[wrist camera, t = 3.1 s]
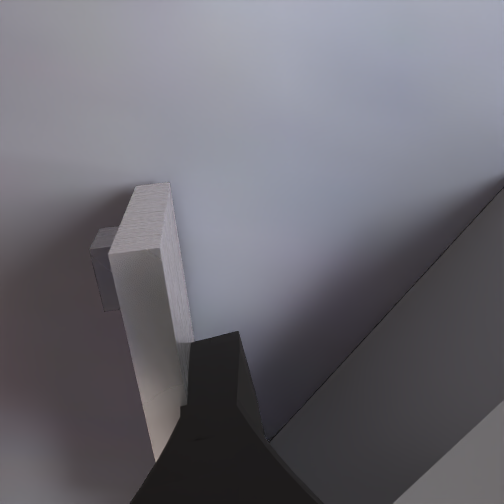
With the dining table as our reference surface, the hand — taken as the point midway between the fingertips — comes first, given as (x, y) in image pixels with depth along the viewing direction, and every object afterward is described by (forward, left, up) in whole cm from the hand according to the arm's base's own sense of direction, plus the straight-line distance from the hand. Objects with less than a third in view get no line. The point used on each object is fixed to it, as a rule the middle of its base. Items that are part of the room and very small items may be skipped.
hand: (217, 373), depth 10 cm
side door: (+1, -1, -1) cm, 2 cm away
